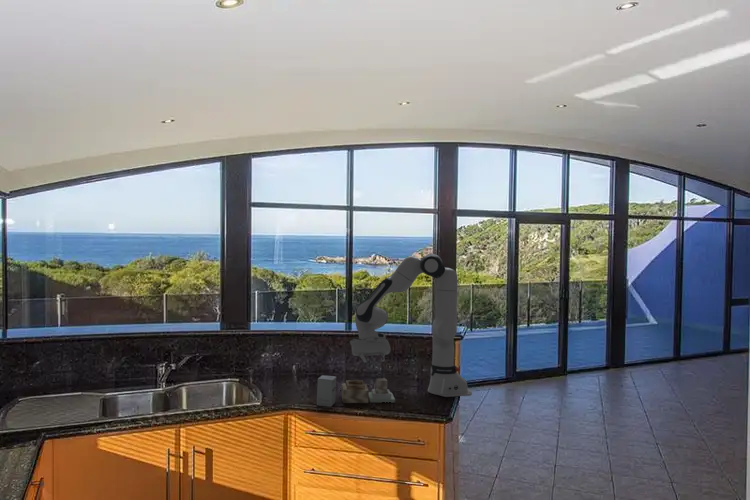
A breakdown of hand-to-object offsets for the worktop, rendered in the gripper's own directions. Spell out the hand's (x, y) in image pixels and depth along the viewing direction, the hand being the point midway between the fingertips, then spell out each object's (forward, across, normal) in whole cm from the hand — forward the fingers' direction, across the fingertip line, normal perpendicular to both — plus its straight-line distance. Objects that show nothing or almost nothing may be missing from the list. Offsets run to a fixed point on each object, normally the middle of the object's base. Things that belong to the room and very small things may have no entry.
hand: (374, 361), depth 302 cm
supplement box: (+20, -28, +3) cm, 35 cm away
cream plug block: (+18, 0, +3) cm, 18 cm away
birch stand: (+17, -13, +6) cm, 22 cm away
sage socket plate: (+19, 0, +4) cm, 19 cm away
